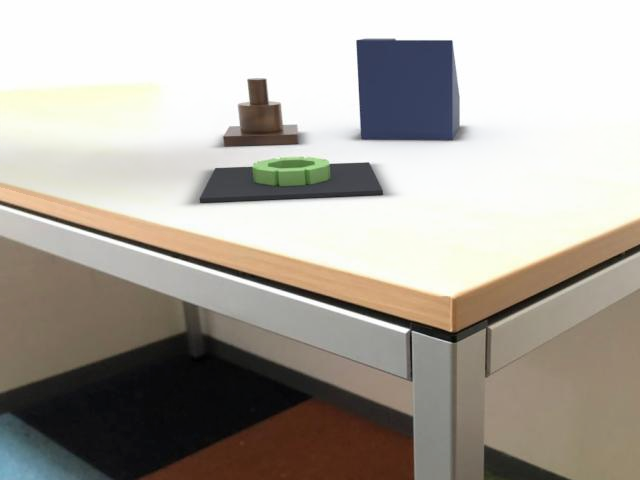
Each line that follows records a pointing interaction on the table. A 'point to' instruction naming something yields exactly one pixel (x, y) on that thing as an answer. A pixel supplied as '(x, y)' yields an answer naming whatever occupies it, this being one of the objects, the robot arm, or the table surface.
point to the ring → (291, 171)
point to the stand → (260, 120)
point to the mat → (242, 186)
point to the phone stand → (407, 89)
